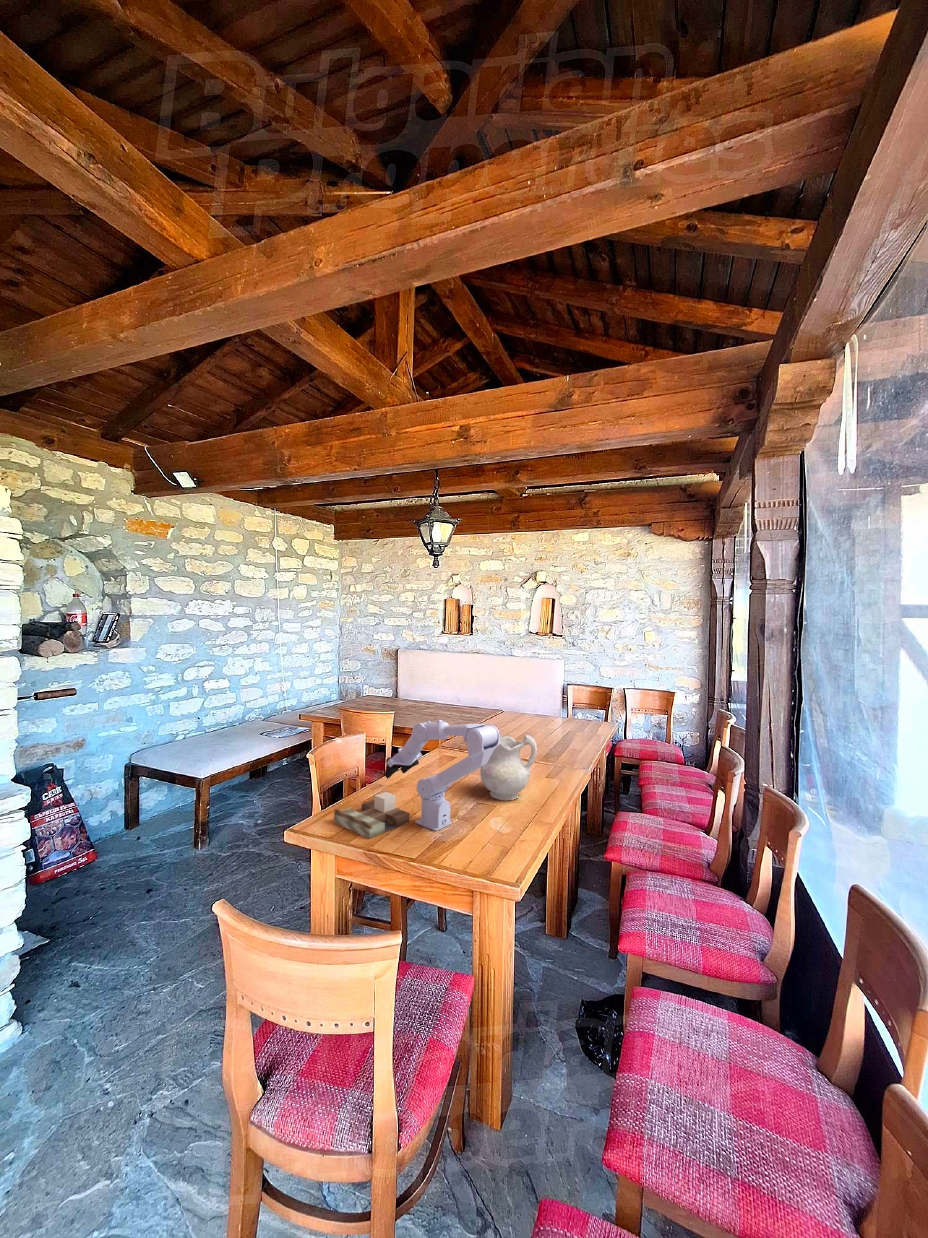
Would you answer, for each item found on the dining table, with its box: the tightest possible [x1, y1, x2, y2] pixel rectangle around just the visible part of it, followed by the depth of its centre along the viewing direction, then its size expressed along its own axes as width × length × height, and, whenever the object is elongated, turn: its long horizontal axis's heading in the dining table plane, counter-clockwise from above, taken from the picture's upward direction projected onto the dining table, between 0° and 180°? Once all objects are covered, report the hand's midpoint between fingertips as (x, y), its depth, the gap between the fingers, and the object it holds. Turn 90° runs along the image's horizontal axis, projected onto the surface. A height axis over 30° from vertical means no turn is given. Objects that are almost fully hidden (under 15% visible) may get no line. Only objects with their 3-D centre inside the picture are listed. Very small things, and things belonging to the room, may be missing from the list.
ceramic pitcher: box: [479, 732, 538, 802], centre depth 191 cm, size 22×20×25 cm
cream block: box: [374, 791, 397, 813], centre depth 166 cm, size 5×5×4 cm
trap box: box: [333, 799, 411, 840], centre depth 162 cm, size 18×17×4 cm
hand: (394, 773), depth 175 cm, fingers open, 7 cm apart
